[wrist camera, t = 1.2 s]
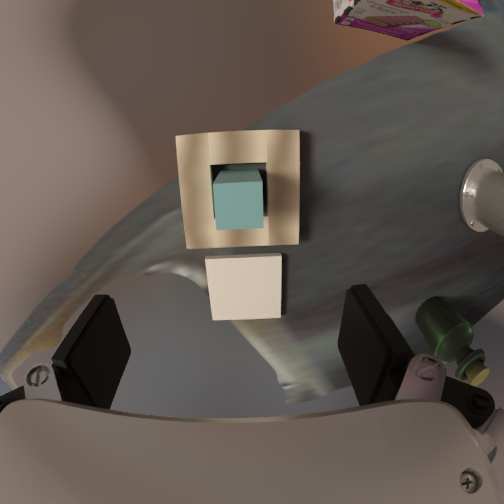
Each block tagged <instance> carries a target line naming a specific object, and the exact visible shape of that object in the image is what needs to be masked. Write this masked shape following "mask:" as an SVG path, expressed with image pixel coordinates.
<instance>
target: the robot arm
mask: <svg viewBox="0 0 504 504" xmlns="http://www.w3.org/2000/svg"><path fill="white" fill-rule="evenodd" d="M460 210H461V215H462V217H463V220H464V222H465V223H466V225H467V226H468V227H469V228H471V229H473V230H474V231H477V232H484V231H487V230H488V229H490V230H492V231H494V232H495V233H497V234H498V235H500V236H502V237H503V238H504V173H503V171H502V169H501V167H500V166H499V165H498V164H497V163H496V162H495V161H493V160H491V159H486V158H482V159H479V160H477V161H475V162H474V163H473V164H472V165H471V166H470V167H469V169H468V171H467V172H466V174H465V176H464V179H463V182H462V186H461V191H460ZM338 348H339V351H340V354H341V357H342V359H343V362H344V364H345V367H346V370H347V372H348V375H349V378H350V380H351V383H352V386H353V389H354V391H355V394H356V397H357V399H358V402H359V405H360V406H357V407H352V408H346V409H339V410H332V411H324V412H317V413H309V414H300V415H291V416H278V417H263V418H237V419H236V418H235V419H208V418H183V417H182V418H181V417H167V416H156V415H145V414H137V413H129V412H122V411H115V410H110V407H111V404H112V401H113V398H114V396H115V393H116V390H117V388H118V385H119V383H120V380H121V377H122V375H123V372H124V370H125V367H126V365H127V362H128V360H129V357H130V354H131V349H130V345H129V342H128V340H127V337H126V334H125V331H124V329H123V326H122V323H121V320H120V317H119V314H118V311H117V308H116V305H115V302H114V300H113V299H112V298H110V296H109V295H95V296H94V297H93V298H92V300H91V301H90V303H89V304H88V305H87V307H86V308H85V310H84V311H83V312H82V314H81V315H80V316H79V318H78V319H77V321H76V322H75V324H74V325H73V327H72V328H71V329H70V331H69V332H68V334H67V335H66V337H65V338H64V340H63V341H62V343H61V344H60V346H59V347H58V349H57V351H56V352H55V354H54V355H53V357H52V358H51V359H52V361H53V364H52V366H51V365H49V364H47V363H38V364H35V365H33V366H32V367H30V368H29V369H28V370H27V371H26V373H25V375H24V379H23V383H24V385H23V386H21V387H19V388H17V389H15V390H13V391H11V392H9V393H6V394H4V395H2V396H0V504H504V409H502V408H501V407H499V408H498V409H496V408H495V404H494V400H493V398H492V396H491V395H490V394H489V393H488V392H487V391H485V390H483V389H481V388H477V387H475V386H472V385H469V384H466V383H463V382H461V381H458V380H456V379H453V378H450V377H447V376H446V368H445V365H444V364H443V362H442V361H441V360H439V359H438V358H437V357H435V356H432V355H428V354H420V355H417V356H415V355H414V353H413V351H412V350H411V348H410V347H409V345H408V344H407V342H406V340H405V339H404V337H403V336H402V334H401V333H400V331H399V330H398V328H397V327H396V325H395V324H394V322H393V321H392V319H391V318H390V316H389V315H388V314H386V312H385V311H384V309H383V308H382V306H381V305H380V303H379V302H378V300H377V299H376V297H375V296H374V295H373V293H372V292H371V290H370V289H369V287H368V286H367V285H366V284H361V285H352V286H351V288H350V289H348V290H347V291H346V297H345V303H344V310H343V316H342V321H341V327H340V332H339V338H338Z"/></svg>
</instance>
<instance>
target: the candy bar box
mask: <svg viewBox="0 0 504 504" xmlns="http://www.w3.org/2000/svg"><path fill="white" fill-rule="evenodd" d="M332 3H333V13H334V15H333V16H334V23H335V24H340V25H345V26H351V27H356V28H361V29H366V30H370V31H374V32H378V33H382V34H386V35H390V36H394V37H397V38H400V39H404V40H410V39H412V38H415V37H417V36H420V35H423V34H425V33H428V32H431V31H434V30H437V29H439V28H442V27H446V26H450V25H453V24H456V23H460V22H463V21H466V20H470V19H474V18H478V17H482V16H483V11H482V7H481V3H480V0H332Z"/></svg>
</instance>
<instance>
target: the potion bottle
mask: <svg viewBox="0 0 504 504" xmlns="http://www.w3.org/2000/svg"><path fill="white" fill-rule="evenodd" d="M416 323H417V324H418V326H419V328H420V330H421V332H422V333H423V335H424V337H425V339H426V341H427V342H428V344H429V346H430V348H431V350H432V352H433V354H434V356H435V357H437V358H438V359H439V360H441V361H442V362H443V363H450V362H452V361H455V360H456V362H457V365H458V368H457V369H456V372H455V376H456V377H457V378H458V379H460V380H466V379H468V381H469V384H470V385H472V386H477V385H478V384H480V383H481V382H482V381H483V380H484V379H485V378H486V376H487V375H488V373H489V368H487V367H486V366H484V364H483V363H484V361H485V354H484V351H483V350H482V349H478V350H475V351H474V350H473V349H471V348H469V346H470V344H471V342H472V340H473V335H474V334H473V329H472V325H471V324H470V323H469V322H468V321H466V320H465V319H464V318H463V317H462V316H461V315H460V314H459V313H457V312H456V311H455V310H454V309H453V308H452V307H451V306H449V305H448V304H447V303H446V302H445V301H444V300H442V299H441V298H439V297H433V298H430V299H428V300H426V301H425V302H424V303H423V304H422V305H421V306H420V308H419V309H418V311H417V314H416Z"/></svg>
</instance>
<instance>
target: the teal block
mask: <svg viewBox="0 0 504 504" xmlns="http://www.w3.org/2000/svg"><path fill="white" fill-rule="evenodd" d="M213 194H214V207H215V220H216V230H232V229H255V228H264V225H263V185H262V179H261V176H260V173H259V171H258V169H239V170H221V171H220V172H219V174H218V176H217V178H216V179H215V181H214V183H213Z"/></svg>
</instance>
